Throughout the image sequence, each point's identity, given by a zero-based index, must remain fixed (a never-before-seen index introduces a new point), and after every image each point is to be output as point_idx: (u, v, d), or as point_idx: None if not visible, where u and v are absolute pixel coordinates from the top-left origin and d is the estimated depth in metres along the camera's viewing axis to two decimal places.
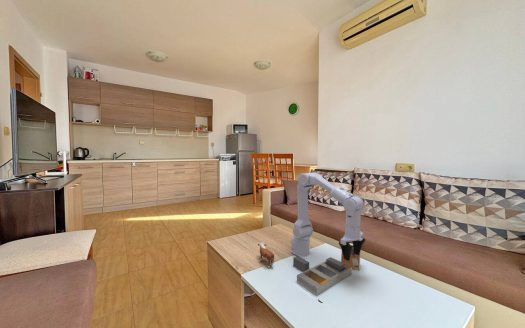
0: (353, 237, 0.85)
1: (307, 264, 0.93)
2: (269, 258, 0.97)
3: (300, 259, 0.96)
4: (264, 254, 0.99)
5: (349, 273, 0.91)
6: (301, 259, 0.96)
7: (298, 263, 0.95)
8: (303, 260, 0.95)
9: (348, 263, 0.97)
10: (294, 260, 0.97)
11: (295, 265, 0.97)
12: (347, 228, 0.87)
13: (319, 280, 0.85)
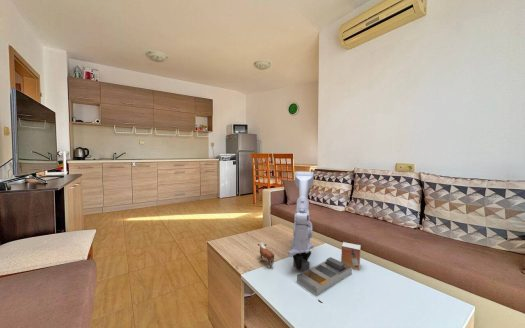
0: (300, 249, 0.93)
1: (307, 264, 0.93)
2: (269, 258, 0.97)
3: None
4: (264, 254, 0.99)
5: (349, 273, 0.91)
6: None
7: None
8: (303, 260, 0.95)
9: (348, 263, 0.97)
10: None
11: (295, 265, 0.97)
12: (296, 241, 0.94)
13: (319, 280, 0.85)
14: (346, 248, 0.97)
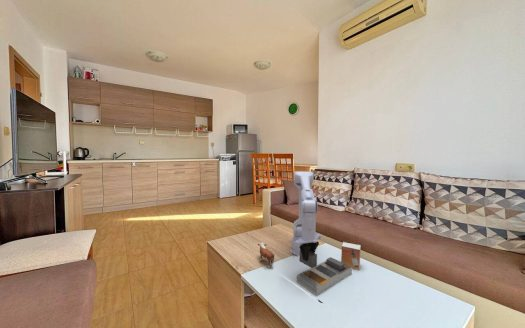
0: (307, 239, 0.86)
1: (315, 256, 0.87)
2: (269, 258, 0.97)
3: None
4: (264, 254, 0.99)
5: (349, 273, 0.91)
6: None
7: None
8: (310, 252, 0.89)
9: (348, 263, 0.97)
10: (300, 252, 0.91)
11: (301, 258, 0.90)
12: (302, 230, 0.88)
13: (319, 280, 0.85)
14: (346, 248, 0.97)
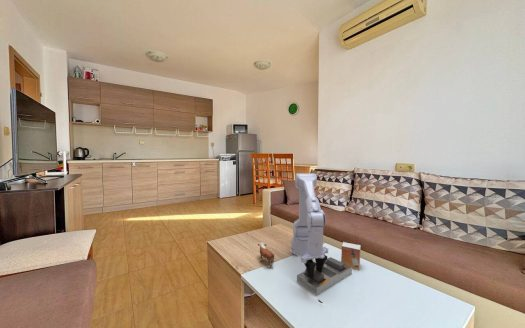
0: (314, 254, 0.81)
1: (321, 277, 0.82)
2: (269, 258, 0.97)
3: None
4: (264, 254, 0.99)
5: (349, 273, 0.91)
6: (314, 271, 0.85)
7: None
8: (317, 272, 0.84)
9: (348, 263, 0.97)
10: (306, 272, 0.86)
11: None
12: (309, 245, 0.83)
13: None
14: (346, 248, 0.97)
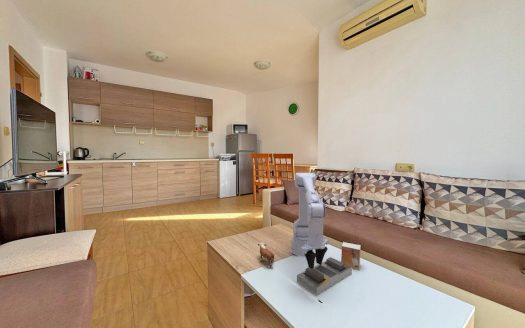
0: (315, 245, 0.81)
1: (321, 277, 0.82)
2: (269, 258, 0.97)
3: (313, 270, 0.85)
4: (264, 254, 0.99)
5: (349, 273, 0.91)
6: (314, 271, 0.85)
7: (311, 276, 0.84)
8: (317, 272, 0.84)
9: (348, 263, 0.97)
10: (306, 272, 0.86)
11: None
12: (309, 236, 0.83)
13: None
14: (346, 248, 0.97)
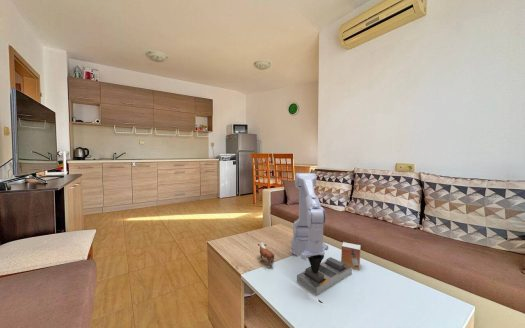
0: (315, 251, 0.81)
1: (321, 277, 0.82)
2: (269, 258, 0.97)
3: None
4: (264, 254, 0.99)
5: (349, 273, 0.91)
6: None
7: (311, 276, 0.84)
8: (317, 272, 0.84)
9: (348, 263, 0.97)
10: (306, 272, 0.86)
11: None
12: (309, 241, 0.83)
13: None
14: (346, 248, 0.97)
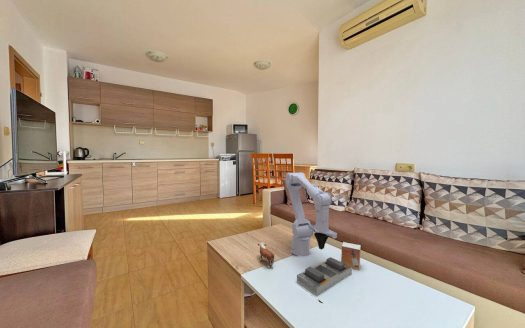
0: (315, 227, 0.96)
1: (321, 277, 0.82)
2: (269, 258, 0.97)
3: (313, 270, 0.85)
4: (264, 254, 0.99)
5: (349, 273, 0.91)
6: (314, 271, 0.85)
7: (311, 276, 0.84)
8: (317, 272, 0.84)
9: (348, 263, 0.97)
10: (306, 272, 0.86)
11: None
12: None
13: None
14: (346, 248, 0.97)
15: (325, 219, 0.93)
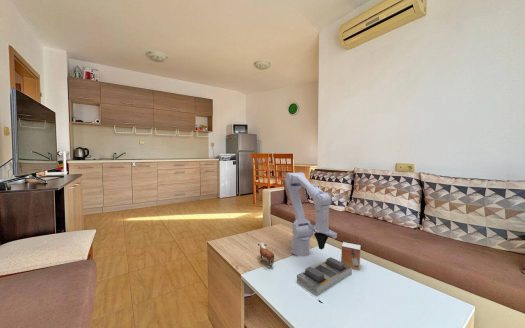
0: (315, 227, 0.96)
1: (321, 277, 0.82)
2: (269, 258, 0.97)
3: (313, 270, 0.85)
4: (264, 254, 0.99)
5: (349, 273, 0.91)
6: (314, 271, 0.85)
7: (311, 276, 0.84)
8: (317, 272, 0.84)
9: (348, 263, 0.97)
10: (306, 272, 0.86)
11: None
12: None
13: None
14: (346, 248, 0.97)
15: (325, 219, 0.93)
